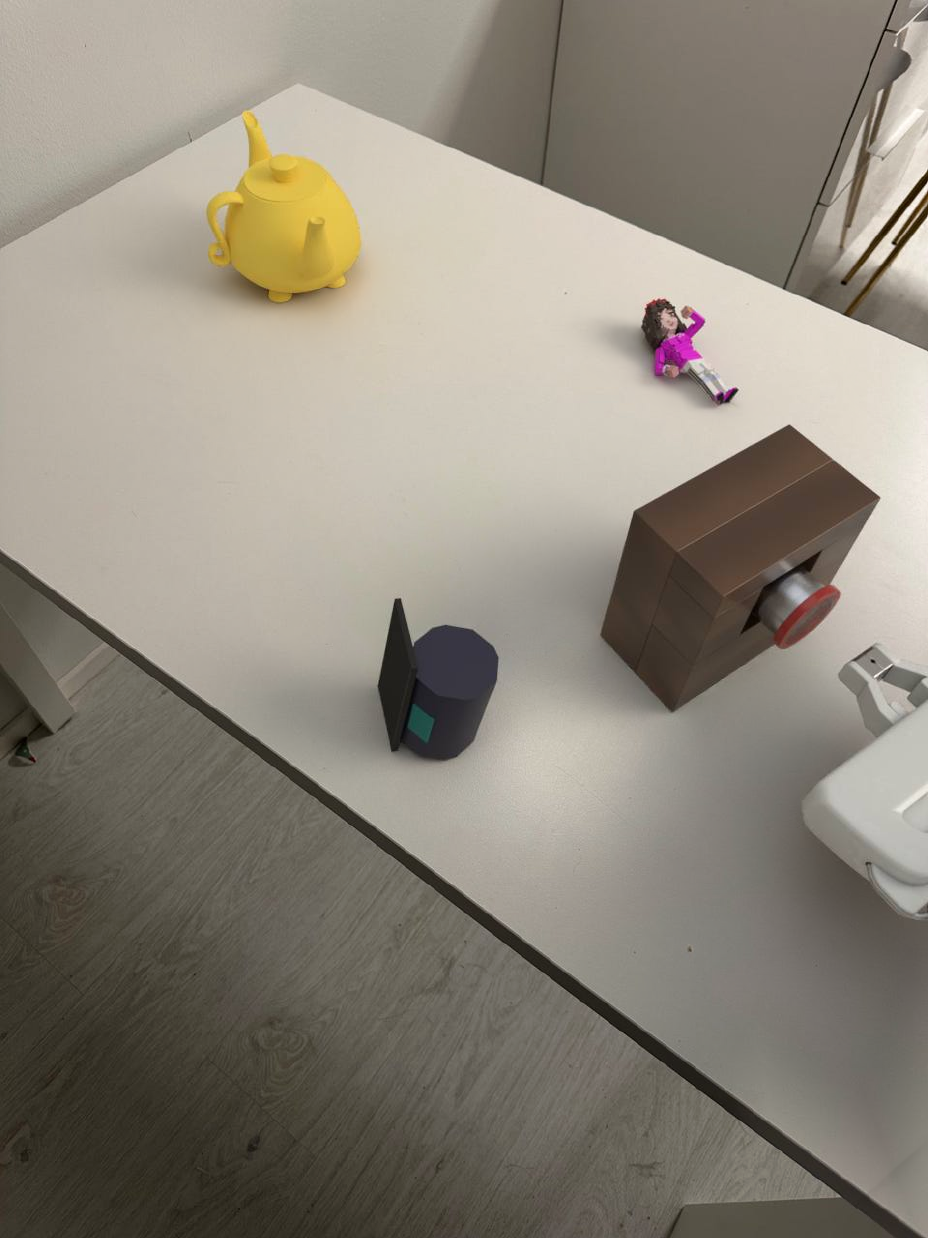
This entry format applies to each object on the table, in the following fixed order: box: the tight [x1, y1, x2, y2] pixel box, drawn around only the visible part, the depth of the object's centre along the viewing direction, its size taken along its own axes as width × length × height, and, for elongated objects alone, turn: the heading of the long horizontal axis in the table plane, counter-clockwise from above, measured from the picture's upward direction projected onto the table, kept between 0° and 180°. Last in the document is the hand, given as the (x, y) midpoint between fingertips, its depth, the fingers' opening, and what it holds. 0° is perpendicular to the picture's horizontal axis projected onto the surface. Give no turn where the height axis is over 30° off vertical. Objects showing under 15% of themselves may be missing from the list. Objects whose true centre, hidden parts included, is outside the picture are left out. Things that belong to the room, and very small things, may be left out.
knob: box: [751, 564, 842, 650], centre depth 61 cm, size 4×5×5 cm
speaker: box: [377, 597, 500, 761], centre depth 61 cm, size 8×6×10 cm
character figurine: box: [640, 297, 739, 406], centre depth 86 cm, size 6×5×12 cm
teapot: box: [205, 110, 362, 303], centre depth 89 cm, size 20×15×12 cm
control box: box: [599, 424, 882, 713], centre depth 65 cm, size 8×14×14 cm, turn 125°
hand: (856, 658), depth 59 cm, fingers closed
